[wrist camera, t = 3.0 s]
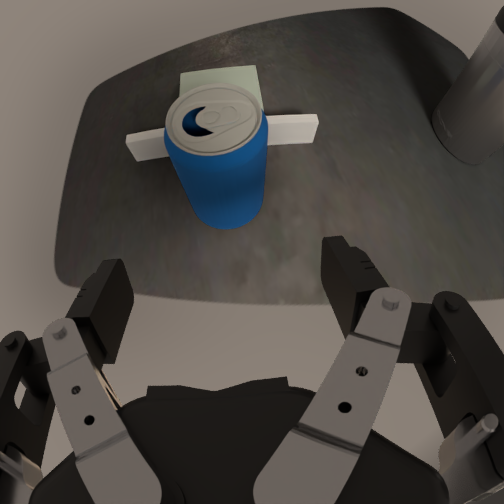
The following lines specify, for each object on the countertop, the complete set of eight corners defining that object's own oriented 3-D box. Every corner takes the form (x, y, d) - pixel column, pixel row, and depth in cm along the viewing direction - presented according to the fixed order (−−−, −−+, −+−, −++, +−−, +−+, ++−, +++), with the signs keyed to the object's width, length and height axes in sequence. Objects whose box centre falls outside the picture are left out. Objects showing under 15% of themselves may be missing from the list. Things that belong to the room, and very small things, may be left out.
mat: (255, 68, 32) (255, 65, 32) (264, 122, 30) (265, 118, 30) (181, 76, 32) (180, 73, 32) (179, 131, 30) (178, 128, 29)
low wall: (310, 135, 30) (316, 114, 26) (312, 142, 29) (318, 122, 26) (137, 153, 29) (126, 134, 26) (137, 161, 29) (125, 143, 26)
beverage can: (186, 178, 28) (153, 93, 17) (251, 161, 29) (251, 69, 17) (201, 240, 27) (166, 175, 15) (271, 221, 27) (285, 144, 16)
